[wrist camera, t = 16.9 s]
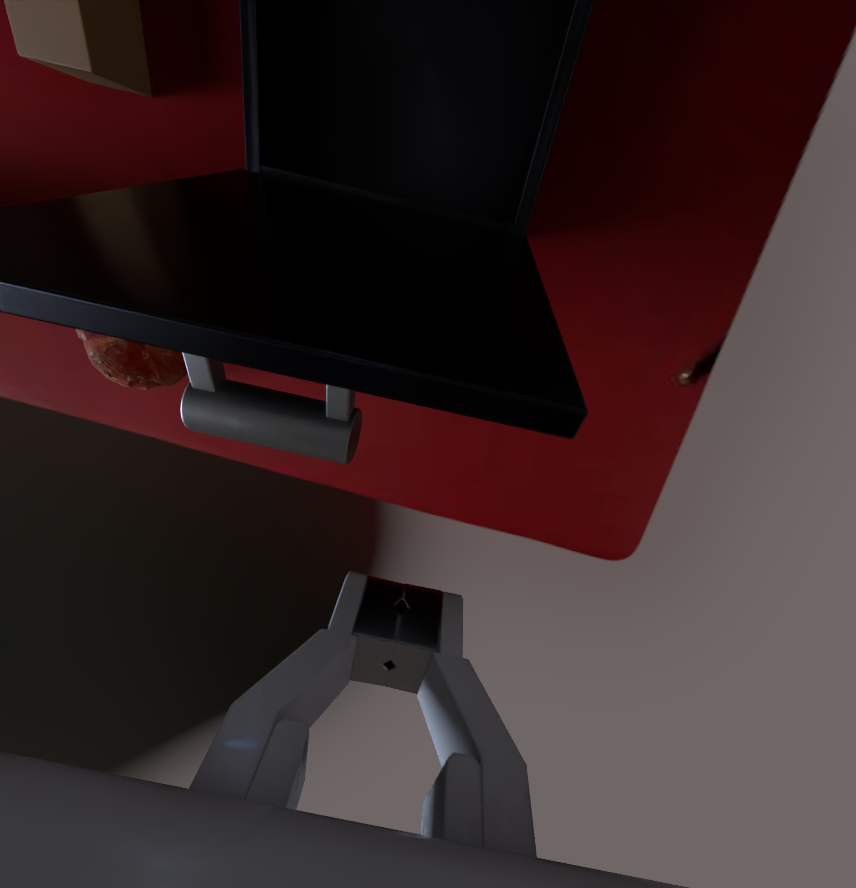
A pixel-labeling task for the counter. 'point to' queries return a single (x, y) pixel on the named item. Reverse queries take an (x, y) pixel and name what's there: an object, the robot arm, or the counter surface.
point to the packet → (84, 39)
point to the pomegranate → (133, 361)
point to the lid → (299, 303)
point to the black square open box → (411, 99)
